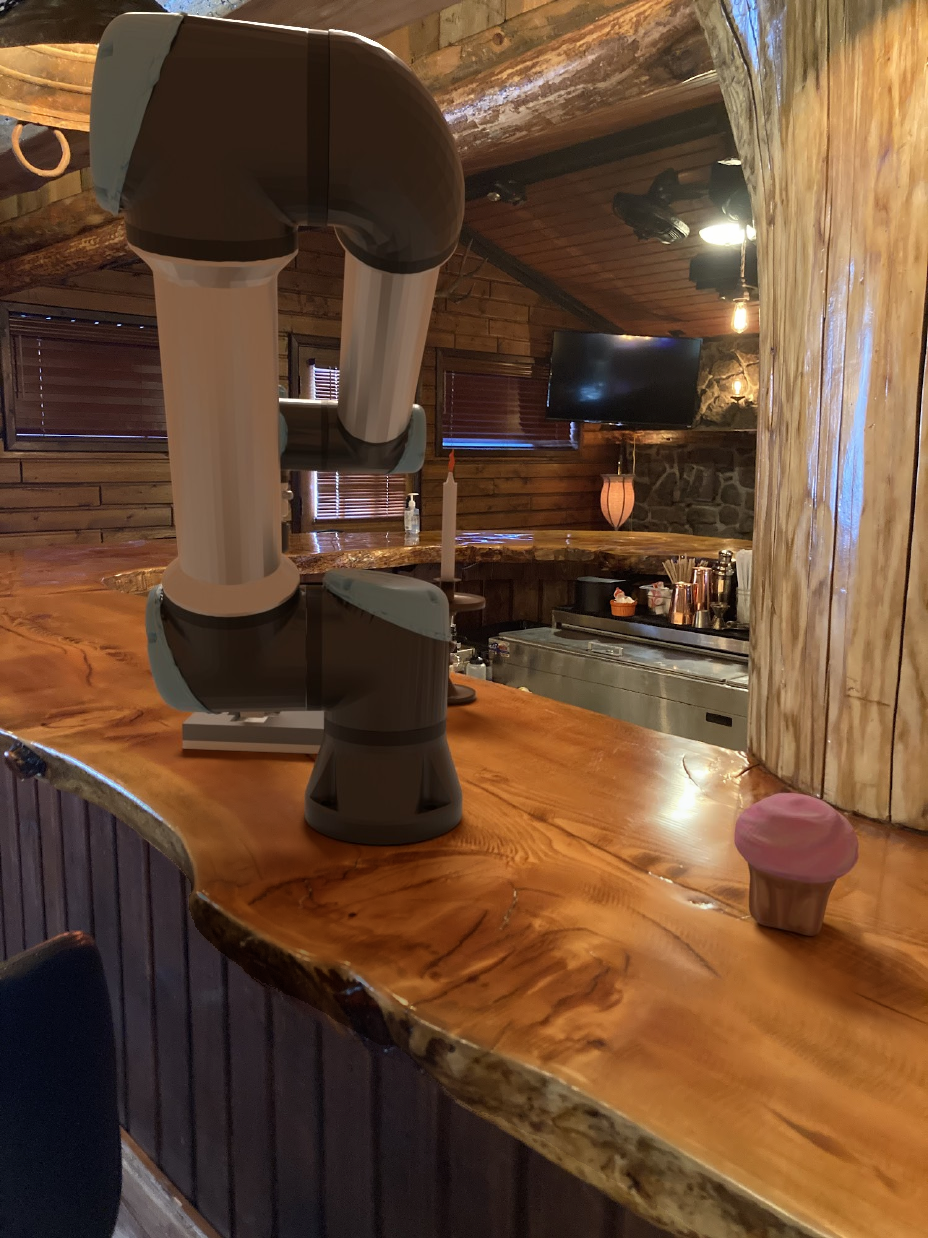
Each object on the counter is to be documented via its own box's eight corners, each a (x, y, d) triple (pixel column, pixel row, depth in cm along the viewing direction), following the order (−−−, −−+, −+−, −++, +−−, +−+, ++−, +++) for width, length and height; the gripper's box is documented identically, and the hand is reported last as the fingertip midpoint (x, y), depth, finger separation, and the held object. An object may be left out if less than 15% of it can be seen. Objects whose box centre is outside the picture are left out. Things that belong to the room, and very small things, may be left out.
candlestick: (428, 684, 139) (434, 448, 133) (494, 694, 135) (503, 450, 129) (392, 700, 130) (396, 447, 124) (461, 711, 125) (469, 449, 119)
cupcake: (719, 933, 69) (730, 806, 67) (735, 885, 77) (745, 770, 75) (847, 962, 65) (863, 829, 63) (851, 909, 73) (864, 789, 71)
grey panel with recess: (408, 757, 106) (409, 689, 104) (182, 748, 106) (181, 681, 105) (416, 722, 120) (418, 662, 118) (217, 714, 120) (216, 654, 119)
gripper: (271, 525, 100) (272, 733, 104) (302, 515, 117) (302, 693, 121) (202, 523, 100) (205, 730, 104) (243, 513, 117) (245, 691, 121)
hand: (257, 710), depth 112 cm, fingers closed on rook chess piece, 4 cm apart
